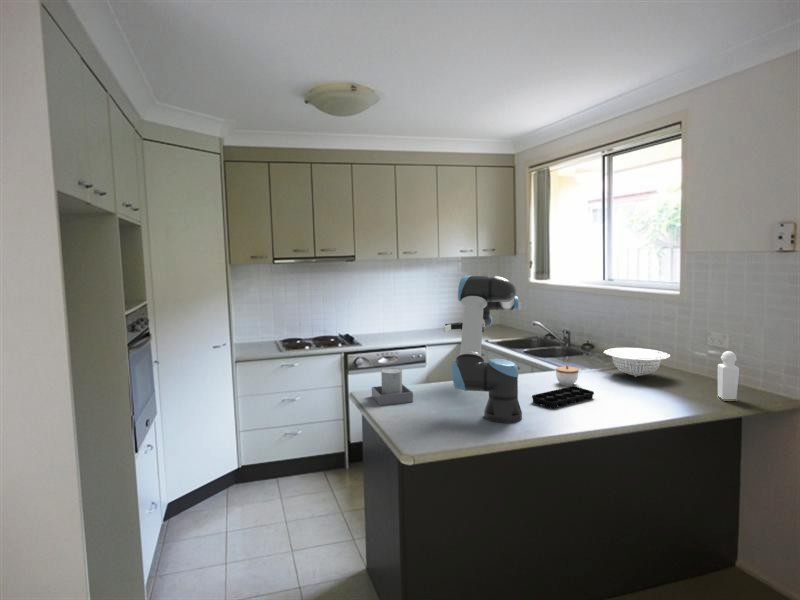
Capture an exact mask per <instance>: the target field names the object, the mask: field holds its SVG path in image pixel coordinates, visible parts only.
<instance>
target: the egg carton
mask: <svg viewBox="0 0 800 600" xmlns="http://www.w3.org/2000/svg"><path fill="white" fill-rule="evenodd" d="M594 395H595V392H594V391H592V390H590V389H586V388H583V387H579V386H574V385H570V386H566V387H563V388H562V387H561V388H558V389H557V388H556V389H553V390H550V391H544V392H541V393H536V394H533V395H532V396H531V398H532V404H534V405H538V406H543V407H544V408H547V409H550V410H551V409H557V408H558V407H566V406H567V405H573V404H575V403H581V402H585V401H591V400H593V397H594Z"/></svg>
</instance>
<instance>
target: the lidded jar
mask: <svg viewBox="0 0 800 600" xmlns="http://www.w3.org/2000/svg"><path fill="white" fill-rule="evenodd" d="M555 371H556V373H555V374H556V375H555V376H556V379H557V381H558V382H559V383H560V385H562V386H566V387H570V386H574V384H575V383H576V382H577V380H578V376H579V369H578V368H577V367H574V366H569V365H566V366H558V367H556V368H555Z"/></svg>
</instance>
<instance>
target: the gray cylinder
mask: <svg viewBox="0 0 800 600" xmlns="http://www.w3.org/2000/svg"><path fill="white" fill-rule="evenodd" d="M380 372H381V375H380V376H381V386H382V395H387V394H397V393H402V384H403V370H402V369H401V368H395V367H394V368H393V367H392V368H389V367H388V368H384V369H382V370H381V371H380Z"/></svg>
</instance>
